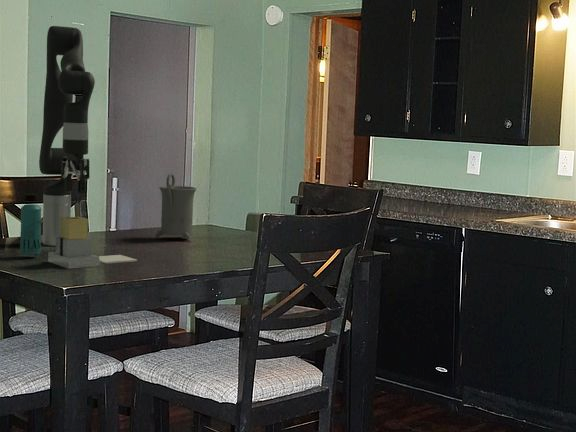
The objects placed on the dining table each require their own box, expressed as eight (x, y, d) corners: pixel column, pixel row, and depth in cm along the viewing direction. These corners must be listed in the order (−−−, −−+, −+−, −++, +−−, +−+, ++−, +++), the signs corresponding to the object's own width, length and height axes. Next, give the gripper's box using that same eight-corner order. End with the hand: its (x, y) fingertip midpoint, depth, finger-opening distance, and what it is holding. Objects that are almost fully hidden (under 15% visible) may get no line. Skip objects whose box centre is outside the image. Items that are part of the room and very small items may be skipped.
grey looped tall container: (166, 235, 355) (168, 170, 352) (202, 238, 351) (205, 172, 348) (146, 241, 337) (148, 172, 334) (184, 244, 333) (186, 174, 330)
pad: (89, 258, 292) (89, 256, 292) (120, 256, 299) (120, 254, 299) (105, 263, 283) (105, 262, 283) (137, 261, 290) (137, 259, 290)
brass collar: (60, 237, 280) (60, 217, 279) (78, 236, 284) (78, 216, 283) (69, 239, 275) (69, 219, 275) (87, 238, 279) (87, 218, 278)
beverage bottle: (19, 259, 285) (20, 194, 283) (19, 255, 291) (20, 192, 289) (41, 259, 287) (42, 195, 285) (41, 255, 293) (41, 193, 291)
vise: (48, 261, 283) (48, 219, 281) (78, 259, 289) (78, 218, 287) (68, 268, 272) (69, 224, 270) (99, 266, 278) (100, 223, 277)
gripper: (98, 139, 273) (97, 194, 275) (76, 137, 284) (75, 190, 286) (74, 139, 269) (73, 194, 270) (53, 137, 280) (52, 190, 281)
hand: (74, 192), depth 278 cm, fingers open, 8 cm apart
